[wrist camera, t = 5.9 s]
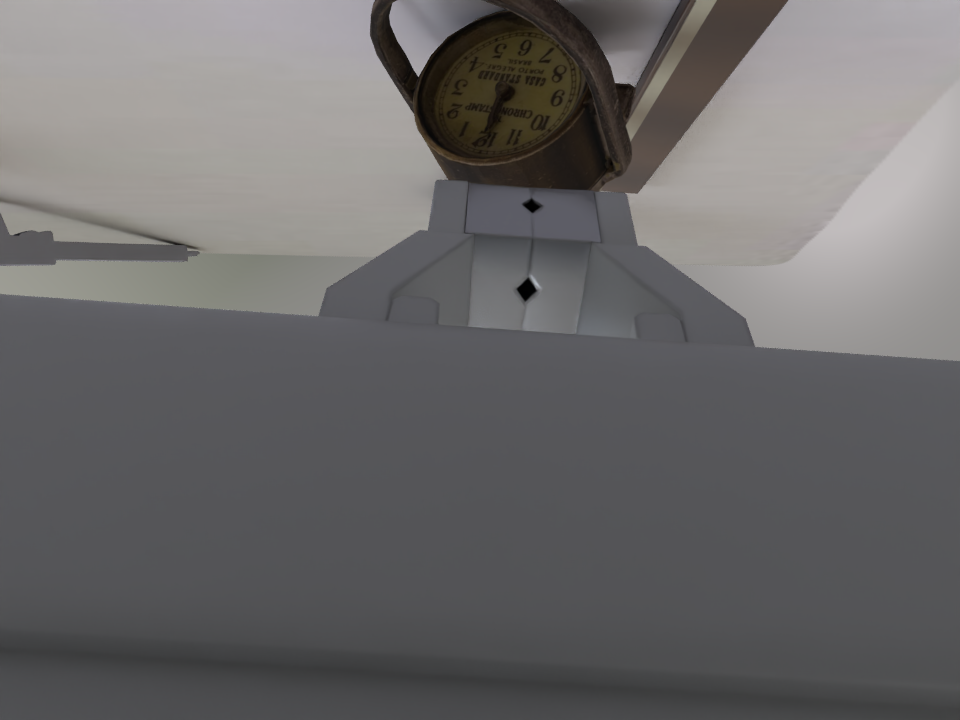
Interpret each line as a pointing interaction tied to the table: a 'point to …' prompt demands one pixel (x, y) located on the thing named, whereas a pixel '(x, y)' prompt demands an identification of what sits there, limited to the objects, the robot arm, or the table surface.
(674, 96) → the ruler
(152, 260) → the caliper
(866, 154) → the table surface
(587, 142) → the antique alarm clock
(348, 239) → the table surface
